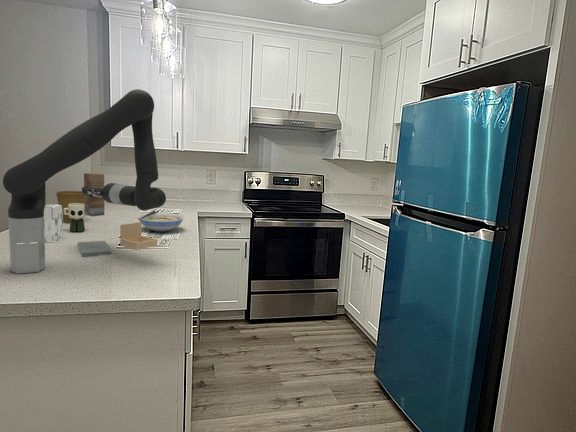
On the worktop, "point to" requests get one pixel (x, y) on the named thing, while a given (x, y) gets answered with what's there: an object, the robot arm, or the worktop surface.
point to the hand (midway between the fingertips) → (89, 189)
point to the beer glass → (53, 222)
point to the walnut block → (93, 203)
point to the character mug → (76, 216)
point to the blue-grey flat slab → (93, 248)
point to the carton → (135, 237)
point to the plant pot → (69, 201)
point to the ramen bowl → (160, 221)
